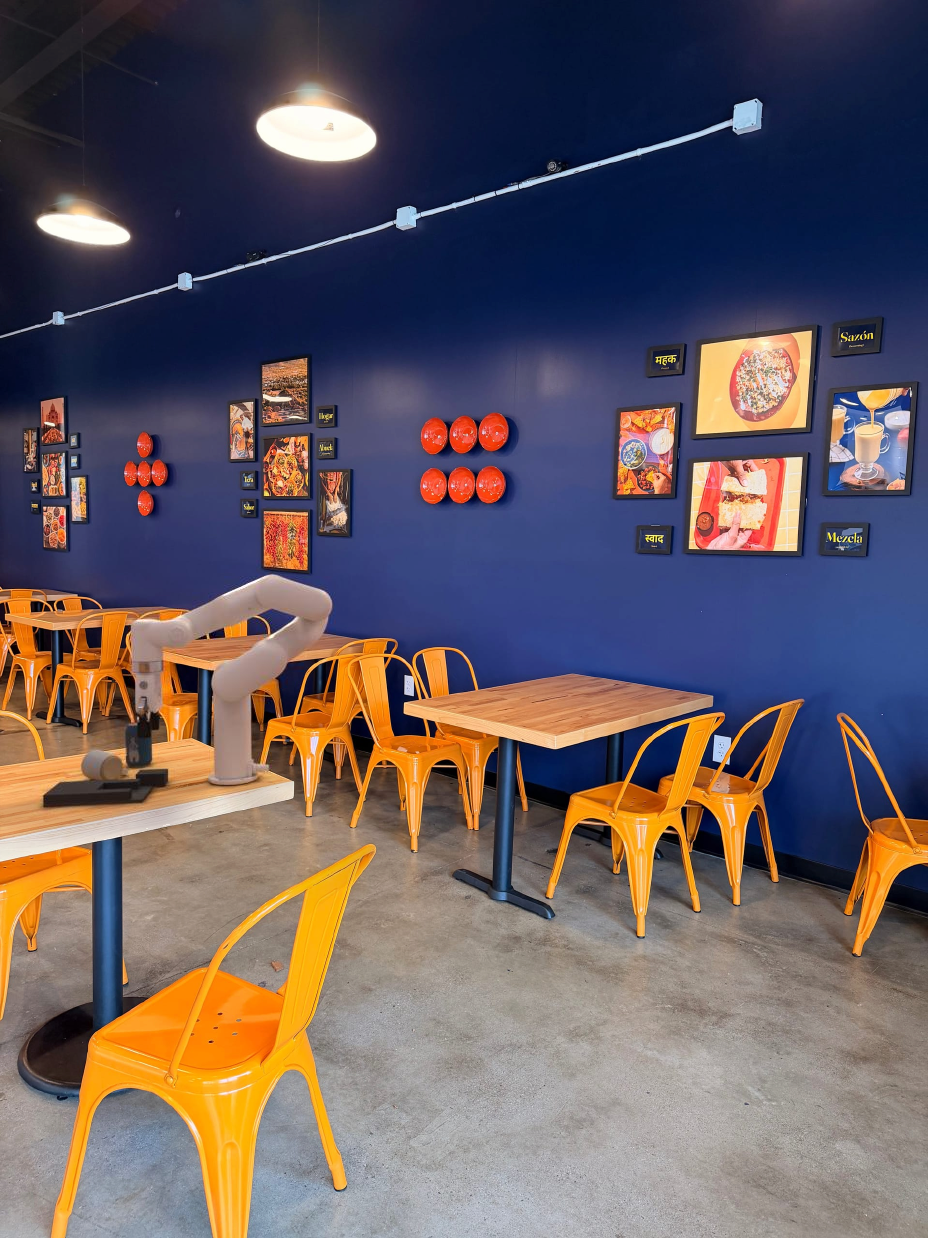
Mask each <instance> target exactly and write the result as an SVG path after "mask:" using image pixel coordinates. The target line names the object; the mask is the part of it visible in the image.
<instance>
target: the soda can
mask: <svg viewBox="0 0 928 1238" xmlns="http://www.w3.org/2000/svg"><path fill="white" fill-rule="evenodd" d="M152 732H153V730H151V737H150V738H138V737H137V721H134V722H128V723H127V724H126V728H125V730H124V738H125V741H124V743H125V745H124V746H125V763H126V765H127V767H128V768H131V769H139V768H140V769H142V768H145V767H149V766H150V765H151V763H152V762H153V737H152V736H153V735H152Z"/></svg>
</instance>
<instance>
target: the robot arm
mask: <svg viewBox="0 0 928 1238" xmlns="http://www.w3.org/2000/svg"><path fill="white" fill-rule="evenodd" d="M272 609H273V610H275V611H278V612H281V613H285V614H288V615H291V616H293V617H294V619H293V620H292V621H290V622H288V623H287V624H285V625H284V626H283V627H281V628H280V629H278V630H277V631H276V632H273V633H272V634H270V635H269V636H266V637H265V638H263V639H261V640H259V641H257V642H255V643H254V644H253V646H252V647H251V648H250V649H249V650H247V651H246V652H244V653H242V654H241V655H240V656H238V657H236V658H234V659H229V660H225V661H223V662H221V663H220V664H218V665H217V666H216V668H215V669H214V671H213V674H212V677H211V689H212V692H213V693H212V695H213V696H212V700H213V702H212V703H213V704H212V705H213V706H212V707H213V708H212V709H213V711H212V713H213V714H212V715H213V764H214V765H213V767H214V769H213V771H214V772H212V773H210V774H209V775H208V782H209V783H210V784H213V785H217V786H218V785H219V786H234V785H235V786H236V785H243V784H247V783H251V782H254V781H256V780H258V778H259V777H258V776H259V773H269V772H270V765H269V764H265V763H255V761H254V760H255V759H254V758H252V693H254V692H255V691H257V690H259V689H260V688H262V687H263V686H265V685H266V684H269V683H270V682H272V681H274V679H276V678H277V677H279V676H280V675H281V674H282V673H283V672H284V670H285V669H286V667H287V664H288V663H290V662H291V661H293V660H294V659H295V658H297V657H298V656H300V655H302V654H303V653H304V652H305V651H307V650H309V649H310V648H311V647H313V646H314V645H315V644H317V642H318V641H319V640H320V639H321V637H322V636H323V634H324V632H325V631H326V628H327V625H328V622H329V616H330V614H331V613H332V610H333V600H332V598H331V596H330V594H329V593H328V592H327V591H325V590H322V589H320V588H317V587H314V586H310V585H307V584H303V583H300V582H297V581H294V580H291V579H288V578H285V577H283V576H281V575H277V574H267V575H265V576H262V577H260V578H258V579H256V580H253V581H251V582H248V583H246V584H243V585H242V586H240V587H237V588H235V589H232V590H230V591H228V592H226V593H224V594H221V595H220V596H218V597H216V598H214V599H213V600H211V601H209V602H207V603H205V604H203V605H201V606H199V607H197V608H194V609H192V610H190V611H188V612H185V613H183V614H181V615H179V616H176V617H173V618H172V619H167V620H160V619H156V618H155V619H154V618H143V619H136V620H133V621H132V622H131V624H130V645H131V647H130V648H131V652H130V653H131V675H133V676H134V675H135V686H134V687H135V691H134V692H135V693H134V697H135V699H134V704H135V712H136V713H137V719H136V722H137V737H138V738H150V737H151V730H152V731H159V730H160V710H161V709H163V706H164V699H163V685H162V684H163V683H162V675H161V674H164V648H169V649H182V648H185V647H187V646H189V644H190V643H191V642H193V641H195V640H198V639H199V638H201V637H204V636H206V635H209V634H210V633H213V632H216V631H218V630H221V629H224V628H230V627H233V626H236V625H239V624H241V623H243V622H245V621H247V620H250V619H251V618H254V617H256V616H258V615H261V614H262V613H265V612H267V611H269V610H272ZM265 771H267V772H265Z"/></svg>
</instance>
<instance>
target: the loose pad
mask: <svg viewBox="0 0 928 1238" xmlns="http://www.w3.org/2000/svg"><path fill="white" fill-rule="evenodd" d="M135 779H140V786H153V788H164V787H166V786H167V785H168V783H169V768H147V769H146V768H145V769H139V770H138V771H137V773H135Z"/></svg>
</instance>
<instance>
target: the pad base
mask: <svg viewBox="0 0 928 1238" xmlns="http://www.w3.org/2000/svg"><path fill="white" fill-rule="evenodd" d="M153 790H154V787H153V786H140V779H136V778H123V779H122V778H121V779H118V778H117V779H116V780H94V779H92V780H73V781H72V780H71V781H59V782H58V783H56V784H55V785H54V786H53V787H51V788H50V789H49V790H48V791H46V792H45V793H44V794H43V795H42V802H43V804H42V807H43V808H49V807H50V808H51V807H52V808H53V807H73V806H75V807H76V806H92V805H93V806H94V805H95V806H97V805H115V804H116V805H117V804H118V805H119V804H138V803H143V802H144V801H145V800H146V798H147V797H148V796H149V795H150V793H151V792H152V791H153Z"/></svg>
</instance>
